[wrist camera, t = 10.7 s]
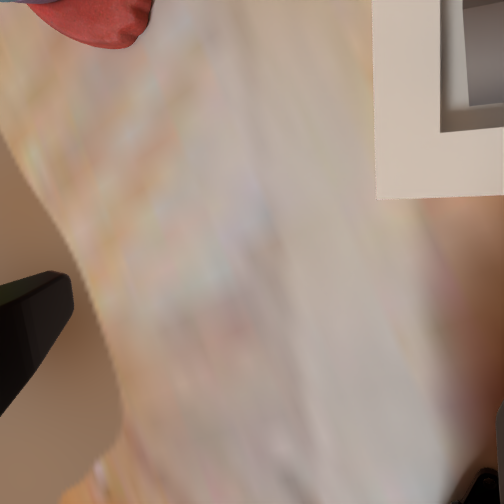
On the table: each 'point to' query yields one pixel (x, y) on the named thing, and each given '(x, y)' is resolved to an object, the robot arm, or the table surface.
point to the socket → (430, 107)
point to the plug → (484, 50)
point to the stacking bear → (94, 19)
